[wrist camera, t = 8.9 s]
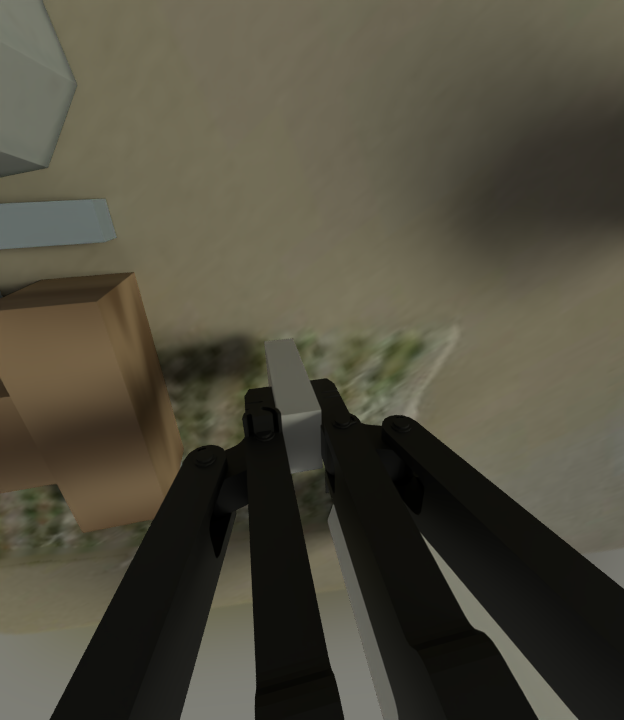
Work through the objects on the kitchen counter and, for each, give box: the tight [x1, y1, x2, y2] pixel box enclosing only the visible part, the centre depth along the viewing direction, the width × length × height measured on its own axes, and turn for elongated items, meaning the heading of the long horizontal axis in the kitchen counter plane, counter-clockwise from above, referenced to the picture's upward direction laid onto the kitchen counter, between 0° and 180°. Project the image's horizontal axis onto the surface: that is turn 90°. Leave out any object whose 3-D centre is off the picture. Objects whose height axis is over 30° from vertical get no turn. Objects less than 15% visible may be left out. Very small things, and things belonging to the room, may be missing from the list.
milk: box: [328, 504, 578, 720], centre depth 17 cm, size 6×6×22 cm
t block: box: [0, 272, 184, 533], centre depth 15 cm, size 11×12×5 cm
